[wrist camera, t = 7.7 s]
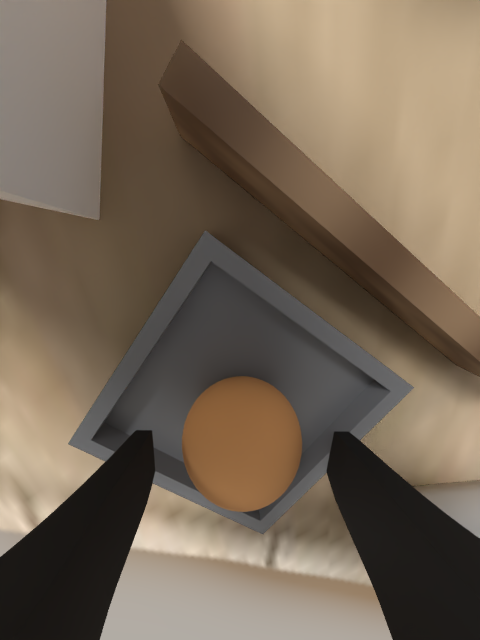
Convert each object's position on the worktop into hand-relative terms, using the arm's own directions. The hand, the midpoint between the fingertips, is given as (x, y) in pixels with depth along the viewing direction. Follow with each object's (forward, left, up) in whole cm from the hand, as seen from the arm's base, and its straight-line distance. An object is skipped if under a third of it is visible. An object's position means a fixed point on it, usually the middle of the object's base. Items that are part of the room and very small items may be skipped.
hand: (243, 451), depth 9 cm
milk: (+18, -6, -4) cm, 20 cm away
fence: (0, -9, -4) cm, 10 cm away
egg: (0, 0, -1) cm, 1 cm away
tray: (0, 0, -4) cm, 4 cm away
